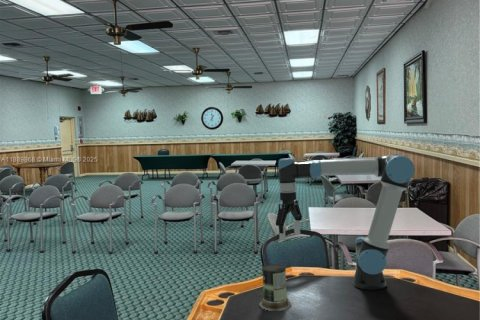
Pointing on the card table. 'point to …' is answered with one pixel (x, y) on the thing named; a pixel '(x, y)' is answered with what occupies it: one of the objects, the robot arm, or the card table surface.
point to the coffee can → (274, 283)
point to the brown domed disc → (275, 305)
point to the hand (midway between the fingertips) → (290, 237)
